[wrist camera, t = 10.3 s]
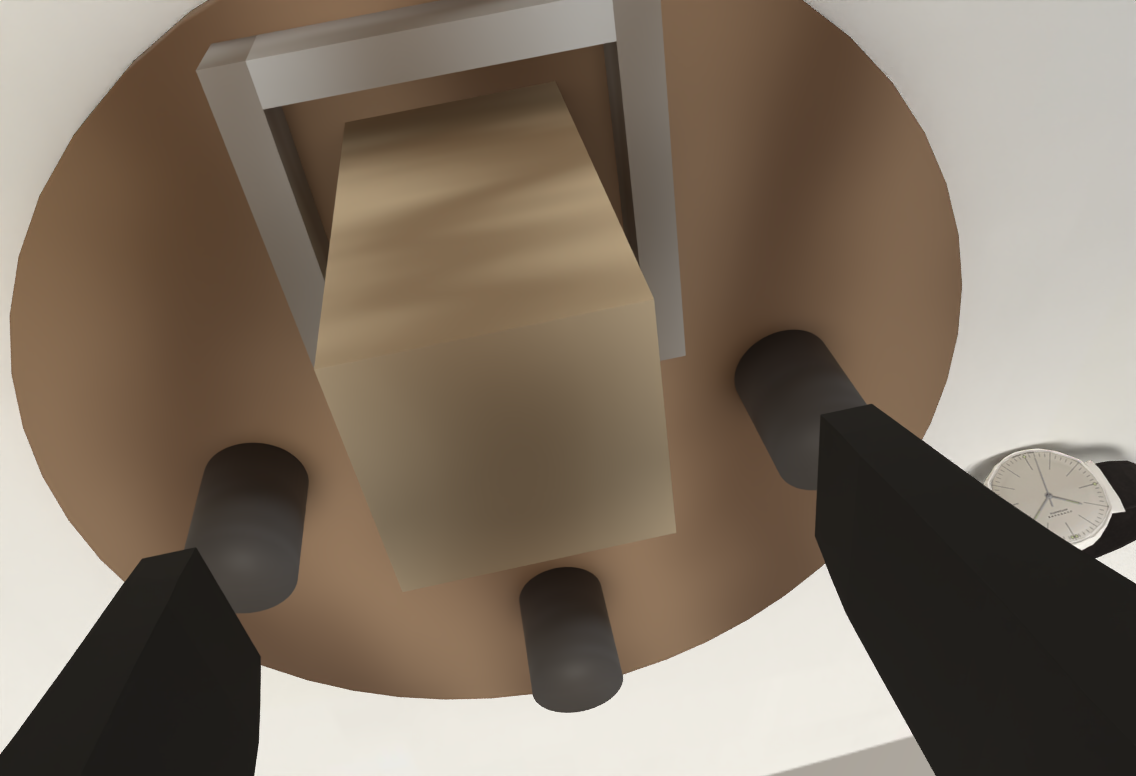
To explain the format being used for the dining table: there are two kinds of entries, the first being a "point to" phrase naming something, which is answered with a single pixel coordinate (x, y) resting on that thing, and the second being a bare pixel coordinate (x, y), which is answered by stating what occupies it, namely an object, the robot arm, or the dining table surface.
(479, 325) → the stool leg
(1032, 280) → the dining table surface
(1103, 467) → the watch
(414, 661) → the stool seat
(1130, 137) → the dining table surface
